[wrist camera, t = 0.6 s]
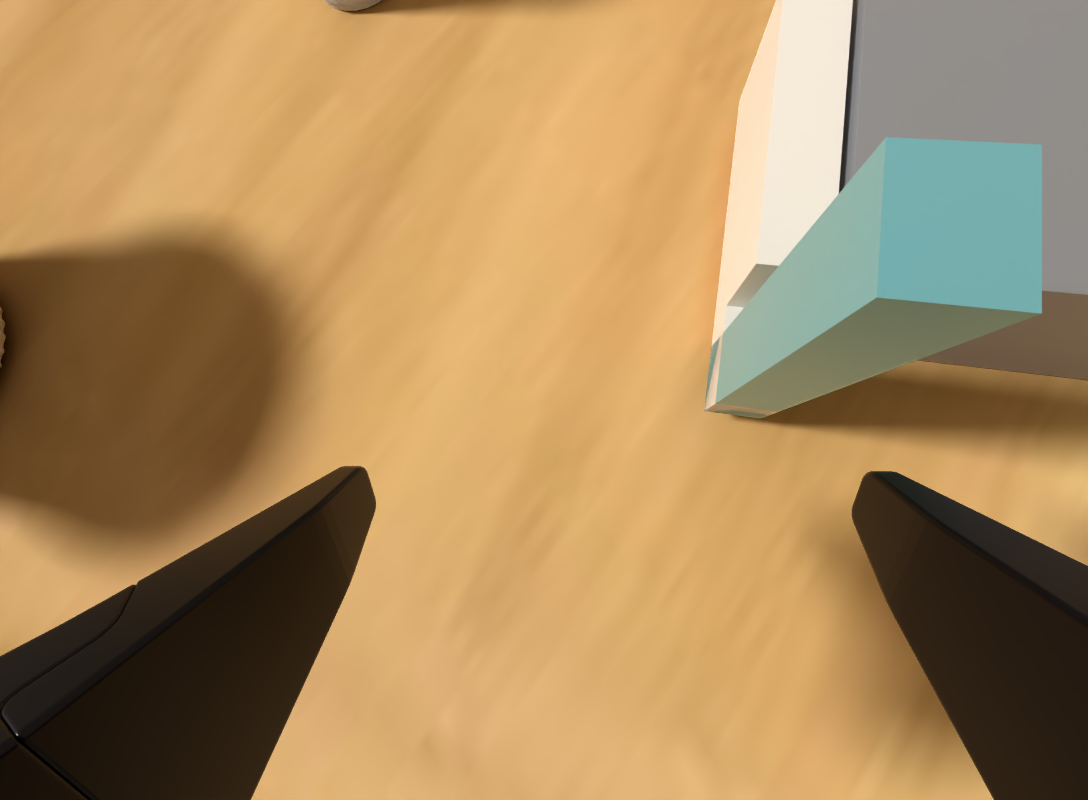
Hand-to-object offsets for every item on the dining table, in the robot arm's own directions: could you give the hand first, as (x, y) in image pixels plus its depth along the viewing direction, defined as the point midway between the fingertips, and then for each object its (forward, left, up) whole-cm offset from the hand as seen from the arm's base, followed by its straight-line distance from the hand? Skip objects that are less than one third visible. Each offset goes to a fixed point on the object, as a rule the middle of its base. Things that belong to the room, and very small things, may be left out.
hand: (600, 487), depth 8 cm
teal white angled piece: (-1, -17, -12) cm, 21 cm away
